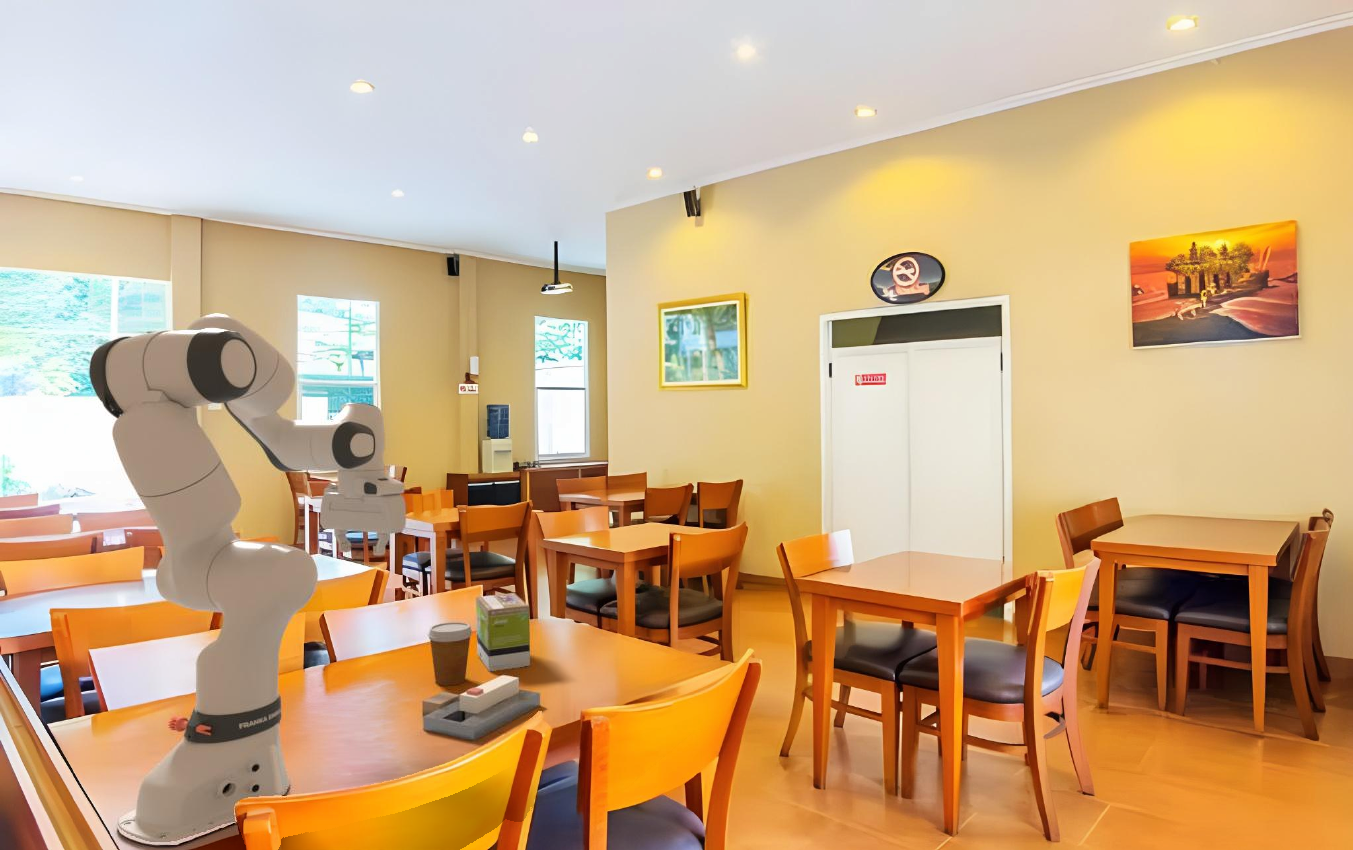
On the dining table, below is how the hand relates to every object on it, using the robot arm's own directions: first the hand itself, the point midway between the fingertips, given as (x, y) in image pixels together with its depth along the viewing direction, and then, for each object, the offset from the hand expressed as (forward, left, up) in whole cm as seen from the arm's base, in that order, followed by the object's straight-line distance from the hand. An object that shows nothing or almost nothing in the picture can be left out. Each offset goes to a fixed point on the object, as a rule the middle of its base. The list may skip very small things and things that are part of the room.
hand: (361, 553), depth 159 cm
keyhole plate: (+7, -25, -31) cm, 40 cm away
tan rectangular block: (+5, -16, -31) cm, 35 cm away
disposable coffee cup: (+21, -4, -31) cm, 38 cm away
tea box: (+38, -5, -31) cm, 49 cm away
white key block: (+9, -25, -29) cm, 39 cm away
